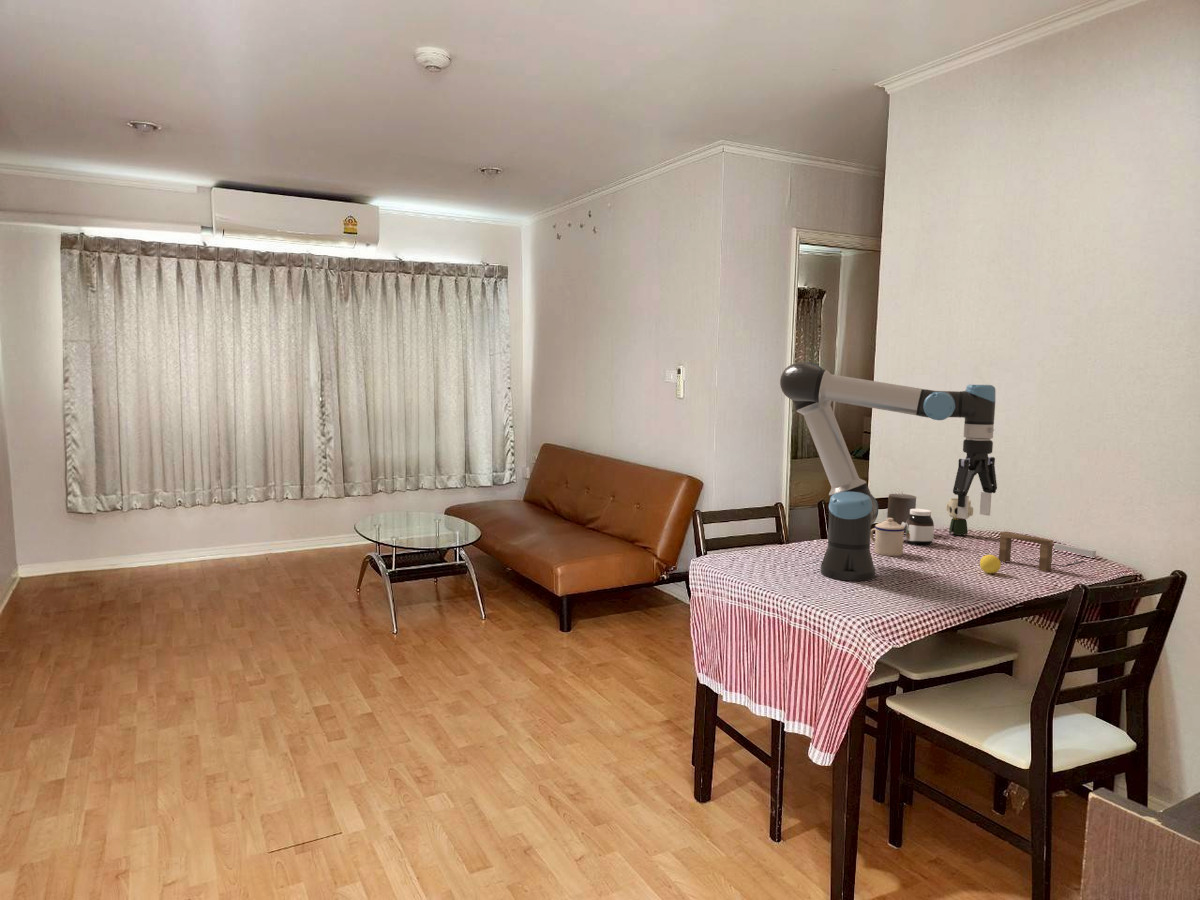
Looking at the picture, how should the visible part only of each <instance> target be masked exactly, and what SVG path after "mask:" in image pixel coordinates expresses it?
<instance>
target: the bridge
mask: <svg viewBox="0 0 1200 900" xmlns="http://www.w3.org/2000/svg"><path fill="white" fill-rule="evenodd" d="M1012 540H1017V541H1024V542H1028V543H1034V544H1039V545H1040V546H1039V547H1040V548H1039V553H1040V559H1039V561H1038V562H1039V563H1038V571H1040V570H1041V571H1042V572H1049V571H1052V564H1051V563H1052V554H1053V550H1054V540H1053V539H1049V538H1043V537H1037V536H1031V535H1026V534H1021V533H1018V532H1017V533H1016V532H1012V531H1011V532H1010V531H1000V533H999V548H998V551H999V552H998V559H999V560H1000V561H1003V562H1002V563H1004V562H1005V563H1007V562H1006V561H1010V562H1011V556H1012V555H1011V554H1012V553H1011V552H1012V543H1013V542H1012Z"/></svg>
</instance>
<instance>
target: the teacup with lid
mask: <svg viewBox="0 0 1200 900" xmlns="http://www.w3.org/2000/svg"><path fill="white" fill-rule="evenodd" d="M904 530H905V528H904V526H902V525H900V524H898V523H897V522H895V521H893V518H886V520H884V521H882V522H879V523H876V524H875V525H874V528H871V533H870V541H871V542H872V543H874V553H875V554H877V555H880V556H884V555H885V557H901V556H902V555H903V554H904ZM874 532H875V535H874ZM874 536H875V537H874Z"/></svg>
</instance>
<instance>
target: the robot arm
mask: <svg viewBox="0 0 1200 900" xmlns="http://www.w3.org/2000/svg"><path fill="white" fill-rule="evenodd" d="M779 384H780V389H781V391H782V393H783V394H784V396H785V397H786V398H788V399H789V400H790V401H791V402H792V404H793V406H794V409H795V410H796V412H797V413H798V414H800V415H802V416H803V418H804V420H805V422H806V423H805V424H806V426H807V428H808V431H809V433H810V435H811V438H812V441H813V443H814V446H815V448H816V449H815V450H816V452H817V453H818V456H819V458H820V462H821V464H822V466H823V468H824V471H825V474H826V477H827V479H828V482H829V484H830V486H831V487H830V491H829V493H828V496H829V503H828V528H827V529H828V533H827V535H828V536H827V548H826V550H825V553H824V556H823V558H822V561H821V563H820V574H821V575H823V576H825V577H828V578H831V579H836V580H840V581H841V580H843V581H854V582H855V581H858V582H859V581H861V582H863V581H871V580H872V579H875V578H876V567H875V565H874V560H873V557H872V554H871V538H870V533H871V530H872V528H871V527H872V525H873V524H874V523H875V522H876V520H877V518H878V514H879V504H878V501H877V500H876V499H877V498H875V497H874V495H873V494H871V493H872V492H871V491H870V488H869V485H868V483H867V481H866V480H865V479H862V478H860V477H859V475H858V472H857V469H856V467H855V464H854V462H853V459H852V457H851V454H850V452H849V449H848V447H847V444H846V441H845V438H844V436H843V433H842V431H841V429H840V426H839V424H838V420H837V419H836V416H835V414H834V411H833V407H832V406H831V404H832V402H836V403H840V404H848V405H851V406H852V405H854V406H859V407H865V408H870V409H876V410H882V411H887V412H895V413H900V414H905V415H906V414H907V415H910V416H911V415H913V416H918V417H921V418H922V417H923V418H927V419H928V418H929V419H931V420H933V421H943V420H947V419H948V418H960V419H961V418H964V426H963V437H964V438H965V439H963V443H962V445H963V446H962V451H963V453H966V457H965V458H959V459H958V468H957V472H956V476H955V480H954V485H953V489H952V493H953V494H954V495H955V496H957V499H958V512H957V518H962V519H966V520H968V519H969V518H968V504H969V500H970V496H969V495H968V493H969V490H970V488H971V486H972V482H973V481H974V478H975V476H977V475H978V478H979V481H980V485H981V488H982V491H981V492H980V500H979V501H980V503H979V504H980V505H979V515H982V516H986V517H987V516H988V517H989V516H990V517H991V505H992V494H996V492H997V490H998V483H997V475H996V474H997V473H996V469H995V468H996V465H995V464H996V463H995V462H996V458H995V457H994V456H989V455H991V454H993V448H994V441H993V438H994V431H995V429H994V424H995V414H996V413H995V411H996V387H995V386H994V385H993V384H967V386H966V388H965V390H962V391H960V390H959V391H953V390H952V391H951V390H948V391H947V390H933V389H925V388H919V387H914V386H913V387H912V386H906V385H901V384H896V383H895V384H893V383H890V382H889V383H888V382H887V383H886V382H881V381H876V380H870V379H869V380H868V379H863V378H858V377H857V378H856V377H850V376H844V375H837V374H831V373H830V371H829V370H828V369H823V368H822V367H821V365H818V364H816V363H813V362H795V363H792V364H790V365H788V366H787V367H786V368H784V370H783V371H782V373H781V376H780V380H779Z"/></svg>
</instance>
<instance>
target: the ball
mask: <svg viewBox="0 0 1200 900" xmlns="http://www.w3.org/2000/svg"><path fill="white" fill-rule="evenodd" d="M979 567H980V569H981V570H982V571H983V572H985V573H986V574H990V575H991V574H992V575H993V574H995V573H997V572H999V570H1001V567H1002V562H1000V560H999V557H998V556H996V555H993V554H986V555H984V556H982V557H981V558H980V561H979Z"/></svg>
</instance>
